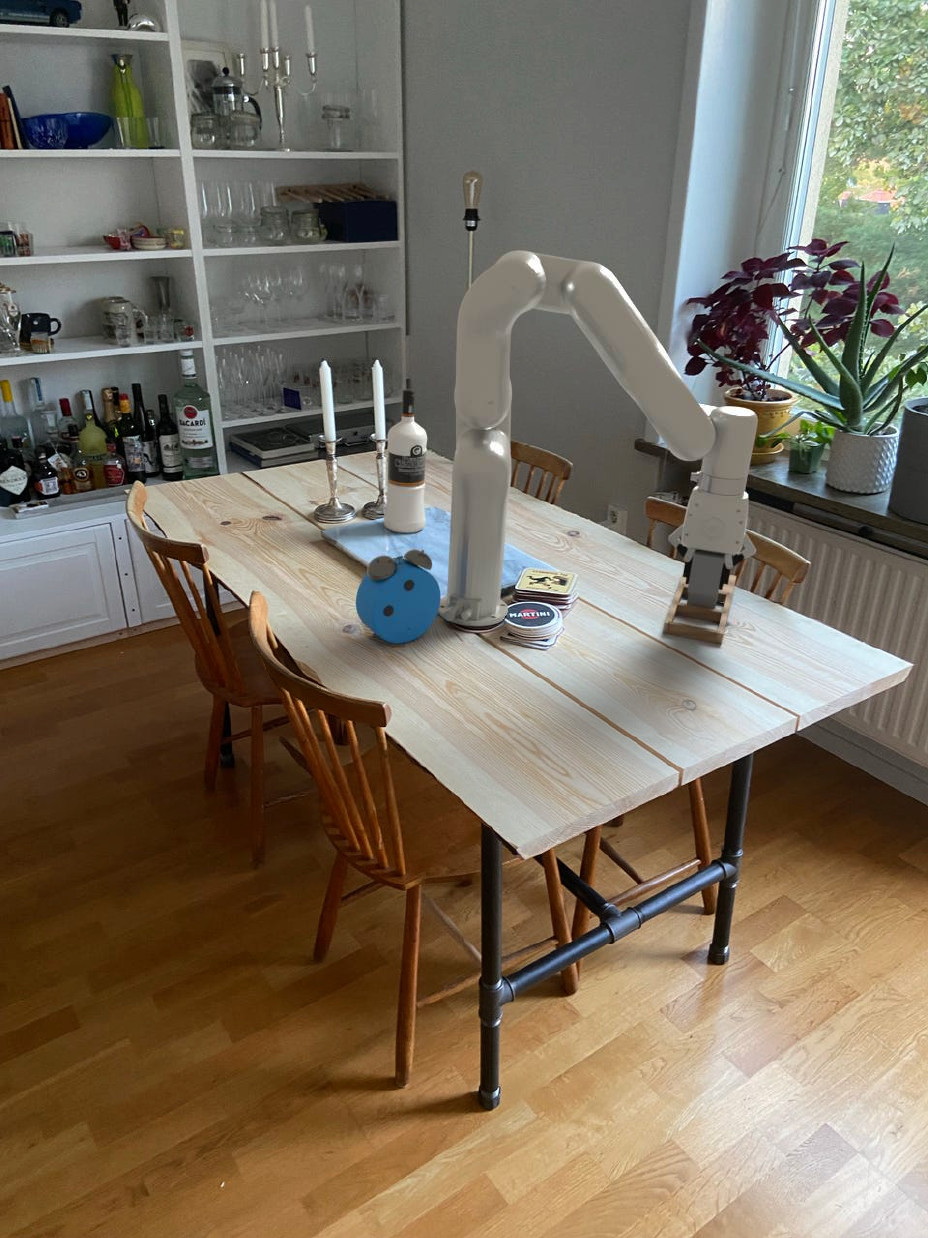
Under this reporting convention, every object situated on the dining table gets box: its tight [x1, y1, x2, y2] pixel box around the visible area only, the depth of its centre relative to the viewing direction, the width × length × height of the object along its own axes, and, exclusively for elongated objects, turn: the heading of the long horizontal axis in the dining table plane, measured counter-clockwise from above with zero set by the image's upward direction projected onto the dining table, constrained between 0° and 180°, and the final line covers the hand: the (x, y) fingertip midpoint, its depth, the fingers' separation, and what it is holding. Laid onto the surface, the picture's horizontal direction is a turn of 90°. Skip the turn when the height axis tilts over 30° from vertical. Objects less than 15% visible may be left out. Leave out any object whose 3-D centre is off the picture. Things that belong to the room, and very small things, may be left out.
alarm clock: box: [355, 549, 442, 644], centre depth 148 cm, size 13×6×15 cm, turn 125°
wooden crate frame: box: [662, 574, 737, 645], centre depth 169 cm, size 28×10×3 cm, turn 160°
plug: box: [687, 549, 725, 597], centre depth 157 cm, size 6×5×8 cm
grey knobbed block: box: [686, 591, 719, 609], centre depth 168 cm, size 6×5×8 cm
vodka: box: [383, 388, 428, 534], centre depth 193 cm, size 9×9×30 cm
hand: (704, 583), depth 158 cm, fingers closed on plug, 5 cm apart
